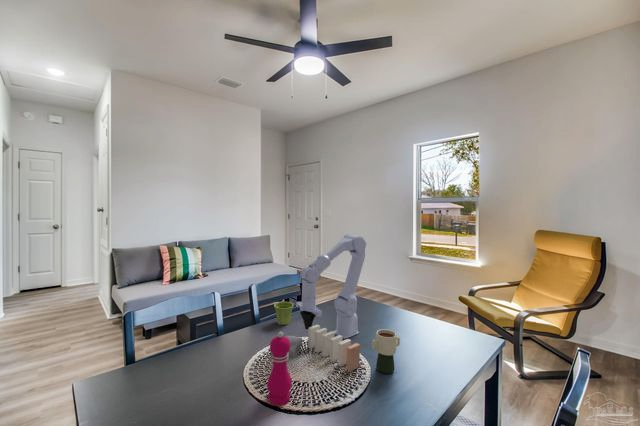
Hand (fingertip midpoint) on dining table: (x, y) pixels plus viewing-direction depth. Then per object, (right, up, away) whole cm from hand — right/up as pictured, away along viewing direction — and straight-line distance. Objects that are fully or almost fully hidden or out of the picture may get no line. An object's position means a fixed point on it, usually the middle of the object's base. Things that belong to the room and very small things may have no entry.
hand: (308, 328), depth 123 cm
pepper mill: (-7, -7, -35) cm, 37 cm away
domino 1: (+2, -6, -3) cm, 7 cm away
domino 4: (+11, -7, -12) cm, 17 cm away
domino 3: (+8, -6, -9) cm, 14 cm away
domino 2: (+5, -6, -6) cm, 10 cm away
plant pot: (-13, -5, +20) cm, 24 cm away
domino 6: (+16, -7, -18) cm, 25 cm away
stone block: (-8, -7, -6) cm, 12 cm away
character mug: (+28, -7, -19) cm, 34 cm away
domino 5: (+14, -7, -15) cm, 21 cm away
